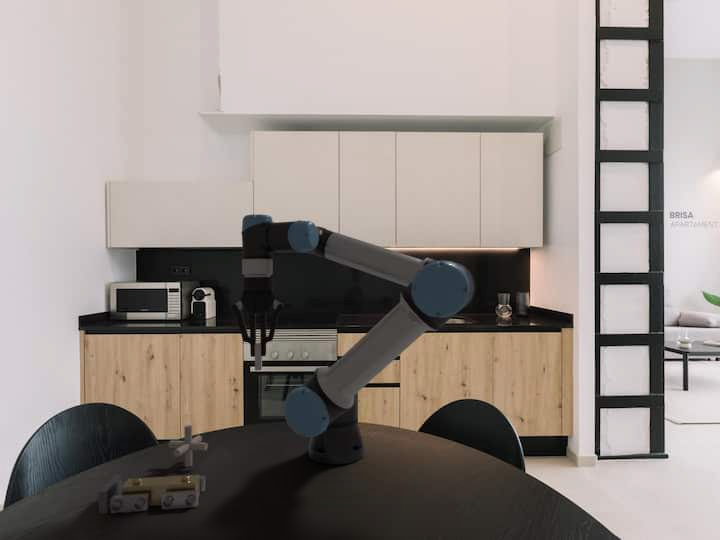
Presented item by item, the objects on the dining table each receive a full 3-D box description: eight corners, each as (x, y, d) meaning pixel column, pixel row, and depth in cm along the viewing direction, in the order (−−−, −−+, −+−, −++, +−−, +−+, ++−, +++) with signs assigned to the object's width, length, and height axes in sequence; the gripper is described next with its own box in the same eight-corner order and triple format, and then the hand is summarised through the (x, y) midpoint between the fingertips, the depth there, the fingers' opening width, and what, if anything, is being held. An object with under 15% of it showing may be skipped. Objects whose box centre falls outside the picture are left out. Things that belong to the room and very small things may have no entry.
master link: (199, 495, 101) (199, 471, 101) (195, 504, 97) (195, 480, 97) (128, 499, 99) (128, 476, 99) (121, 509, 95) (121, 484, 95)
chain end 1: (159, 491, 103) (159, 471, 103) (145, 512, 93) (145, 490, 94) (116, 494, 101) (116, 473, 101) (97, 515, 92) (97, 493, 92)
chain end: (205, 488, 104) (205, 474, 104) (196, 508, 95) (196, 494, 95) (173, 490, 103) (173, 476, 103) (161, 511, 94) (160, 496, 94)
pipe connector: (195, 475, 110) (195, 434, 110) (158, 472, 112) (158, 431, 112) (216, 458, 120) (216, 420, 120) (182, 456, 122) (182, 418, 122)
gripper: (284, 275, 120) (285, 365, 120) (233, 276, 119) (234, 367, 119) (283, 276, 113) (283, 371, 113) (228, 276, 111) (229, 373, 111)
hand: (258, 369), depth 116 cm, fingers closed
